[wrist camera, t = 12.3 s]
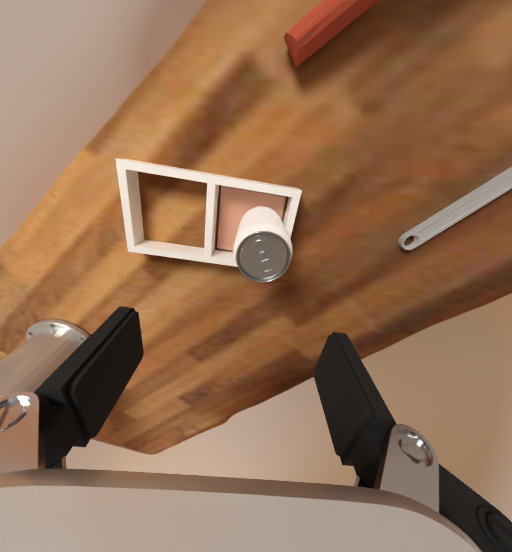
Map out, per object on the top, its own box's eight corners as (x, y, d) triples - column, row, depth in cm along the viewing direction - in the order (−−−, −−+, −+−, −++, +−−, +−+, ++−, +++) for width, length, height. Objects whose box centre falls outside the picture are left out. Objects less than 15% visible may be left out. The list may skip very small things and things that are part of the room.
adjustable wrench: (399, 250, 34) (406, 254, 33) (386, 218, 32) (393, 220, 30) (590, 148, 27) (611, 147, 26) (592, 97, 25) (615, 92, 23)
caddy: (280, 264, 35) (282, 273, 32) (138, 244, 33) (128, 251, 31) (297, 188, 29) (301, 190, 27) (129, 159, 28) (115, 158, 25)
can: (275, 199, 30) (285, 217, 19) (286, 240, 33) (301, 276, 22) (233, 214, 31) (221, 239, 20) (248, 253, 34) (244, 292, 23)
